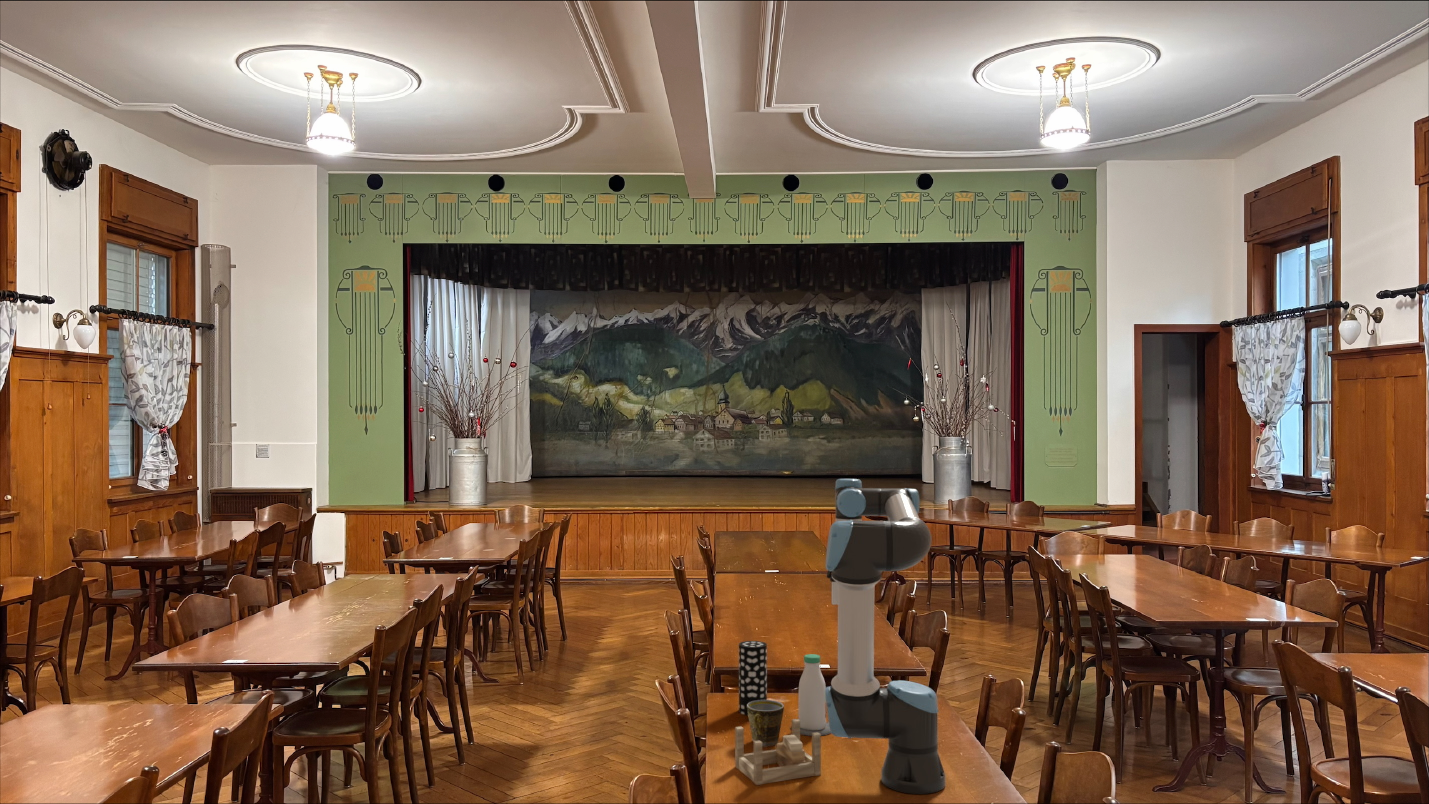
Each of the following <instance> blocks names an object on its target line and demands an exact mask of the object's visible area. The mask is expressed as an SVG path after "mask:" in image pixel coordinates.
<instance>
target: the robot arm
mask: <svg viewBox="0 0 1429 804" xmlns="http://www.w3.org/2000/svg"><path fill="white" fill-rule="evenodd" d="M862 483H863V482H862V481H861V479H859V478H858V479H857V478H838V479H836V481H835V488H834V493H835V494H834V495H835V497H834V498H835V499H834V501H835V502H834V503H835V504H834V505H835V522H833V523H832V524H831V526H830V528H829V533H828V538H827V545H826V555H825V556H826V557H825V569H826V571H827V573H826V578H827V579H829V581H830V582H831V583H830V585H831V605H833V606H835V605H837V674H836V675H835V676H834V677H832V679H831V682H830V684H831V685H830V686H826V689H825V694H826V714H827V718H828V719H827V720H828V723H829V727H830V731H831V734H832V735H833V736H834V737H837V738H847V739H852V738H853V739H854V738H855V739H879V740H880V739H884V740H885V739H886V740H888V747H887V752H886V756H885V758H884V761H883V766H882V768H881V774H880V776H881V779H880V780H881V781H880V782H881V783H882V784H883V785H884V786H885V787H887V788H888V789H891V790H893V791H896V792H900V793H906V794H913V795H927V794H934V793H937V792H939V791H941V790H943V789H944V788H945V787H946V773H945V770H944V767H943V764H942V761H941V758H940V755H939V750H938V749H939V748H938V745H939V742H938V741H939V740H938V735H939V734H938V730H939V729H938V713H939V706H938V697H937V694H936V692H935V691H934V690H933V689H932V688H931V687H929V686H926V685H924V684H922V683H918V682H915V681H908V680H892V681H889V683H888V685H887V687H886V688H885V687H882V688H881V685H880V681H879V680H878V679H877V678H876V677H875V675H874V672H875V671H874V667H875V666H874V664H875V663H874V660H875V659H874V658H875V599H876V597H875V592H876V591H875V589H876V588H875V586H876V585H877V584H878V583H879V582H880V581H881V580H882V572H899V571H904V570H908V569H910V568H912V567H914V566H916V565H918V564H919V563H920V562H921V561H922V560H924V558H925V557H926V556H927V555H928V553H929V552H930V549H931V546H932V540H933V539H932V534H931V531H930V528H929V527H928V525H927V523H925V522H924V520H922V519H920V517H919V513H920V494H919V491H918V490H917V489H916V488H906V487H903V488H899V487H898V488H879V487H878V488H875V487H874V488H873V487H868V488H864V487H863V485H862ZM870 516H871V517H887V520H863V519H862V518H863V517H870Z"/></svg>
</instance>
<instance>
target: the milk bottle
mask: <svg viewBox="0 0 1429 804" xmlns="http://www.w3.org/2000/svg"><path fill="white" fill-rule="evenodd" d="M803 663H804V668H803V672H802V674H801V676H800V679H799V683H798V720H800V728H802V729H805V730H812V731H815V730H822V729H824V728H825V727H826V722H827V703H826V694H825V689H826V687H827V686H826V682H825V678H824V676H823V674H822V671H821V667H820V665H821V656H820V654H816V653H813V654H812V653H810V654H805V655H804V656H803Z"/></svg>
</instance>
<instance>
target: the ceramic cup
mask: <svg viewBox="0 0 1429 804" xmlns="http://www.w3.org/2000/svg"><path fill="white" fill-rule="evenodd" d="M784 709H785V705H784V704H783V703H782V702H780V701H777V700H771V699H767V700H757V701H752V702H750V703H748V704H747V711H748V715H747V717H748V722H749V726H750V733H751V739H752V742H753V743H754V741H758V740H760V741H761V742H762V747H765V748H766V747H772V746H776V745H777V743H779V740H780V734H781V727H782V723H783V722H782V721H783V716H784Z"/></svg>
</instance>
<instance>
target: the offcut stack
mask: <svg viewBox="0 0 1429 804" xmlns="http://www.w3.org/2000/svg"><path fill="white" fill-rule="evenodd" d="M803 744H804V743H803V742H802V741H801V739H800V740H799V739H798V738H797V737H796V736H795V735H792V734H789V735H788V734H787V735H783V736H782V742H777V743H776V749H777V753H778V763H777V765H778V767H781V766H787V765H794V764H800V763H806V761H805V752H806V751H805V749H804V745H803Z"/></svg>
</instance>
